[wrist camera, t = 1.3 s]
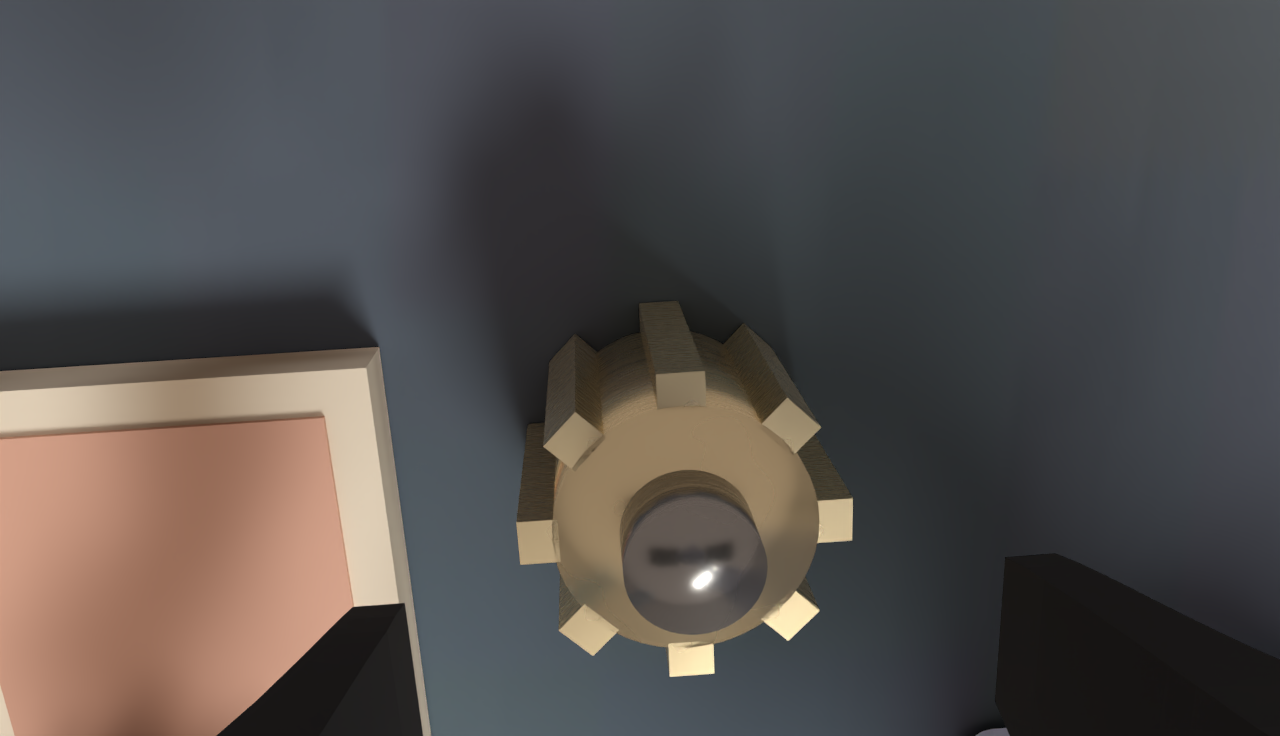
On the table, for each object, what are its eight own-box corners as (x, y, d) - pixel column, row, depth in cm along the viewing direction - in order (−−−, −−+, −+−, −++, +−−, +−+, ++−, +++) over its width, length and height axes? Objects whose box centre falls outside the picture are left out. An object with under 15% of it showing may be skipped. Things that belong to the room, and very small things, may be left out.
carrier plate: (379, 347, 18) (365, 369, 17) (455, 918, 22) (448, 970, 21) (-84, 376, 18) (-133, 401, 17) (80, 951, 22) (50, 1006, 21)
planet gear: (797, 293, 18) (879, 389, 14) (797, 542, 20) (870, 710, 15) (518, 310, 18) (497, 414, 13) (539, 562, 20) (529, 738, 15)
